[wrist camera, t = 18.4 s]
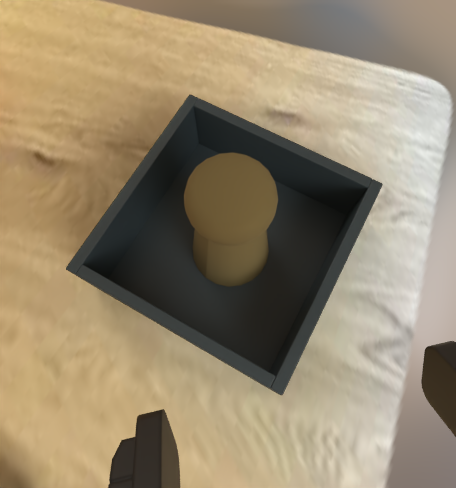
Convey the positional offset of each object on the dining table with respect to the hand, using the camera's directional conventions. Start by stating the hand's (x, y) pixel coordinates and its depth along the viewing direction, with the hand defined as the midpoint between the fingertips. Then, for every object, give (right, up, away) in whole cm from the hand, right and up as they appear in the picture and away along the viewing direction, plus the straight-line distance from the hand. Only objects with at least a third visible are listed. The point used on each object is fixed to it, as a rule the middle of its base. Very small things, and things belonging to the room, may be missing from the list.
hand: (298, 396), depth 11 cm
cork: (-2, +4, +19) cm, 19 cm away
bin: (-2, +4, +19) cm, 19 cm away
